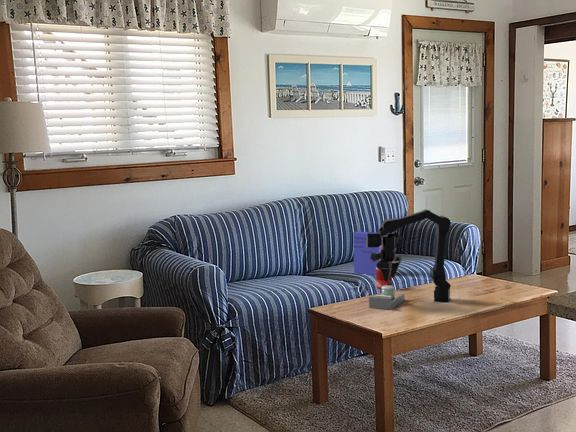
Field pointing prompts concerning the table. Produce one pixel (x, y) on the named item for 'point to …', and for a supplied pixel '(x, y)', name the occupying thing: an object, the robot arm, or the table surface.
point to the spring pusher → (382, 296)
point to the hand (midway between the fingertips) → (389, 279)
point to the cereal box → (364, 254)
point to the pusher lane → (385, 302)
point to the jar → (388, 291)
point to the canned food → (382, 279)
